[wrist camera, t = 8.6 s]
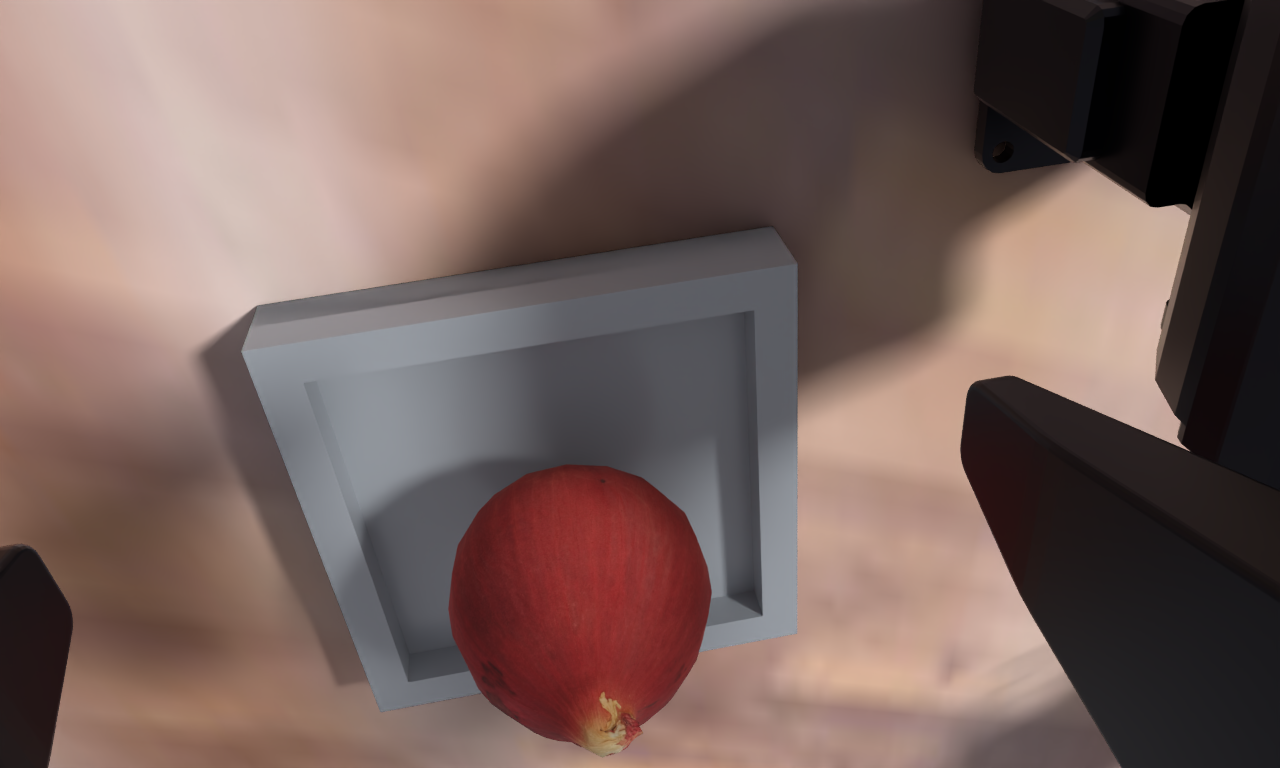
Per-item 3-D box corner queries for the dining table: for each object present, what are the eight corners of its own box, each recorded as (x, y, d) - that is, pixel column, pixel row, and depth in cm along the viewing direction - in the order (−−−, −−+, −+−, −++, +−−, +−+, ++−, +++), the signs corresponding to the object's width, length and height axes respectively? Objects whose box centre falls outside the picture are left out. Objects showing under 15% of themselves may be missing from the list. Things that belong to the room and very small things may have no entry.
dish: (772, 226, 23) (797, 263, 21) (778, 583, 29) (797, 633, 28) (257, 305, 22) (240, 351, 20) (384, 656, 28) (380, 712, 27)
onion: (610, 592, 27) (659, 864, 21) (414, 539, 25) (400, 824, 18) (714, 438, 25) (808, 691, 18) (508, 364, 22) (531, 621, 16)
